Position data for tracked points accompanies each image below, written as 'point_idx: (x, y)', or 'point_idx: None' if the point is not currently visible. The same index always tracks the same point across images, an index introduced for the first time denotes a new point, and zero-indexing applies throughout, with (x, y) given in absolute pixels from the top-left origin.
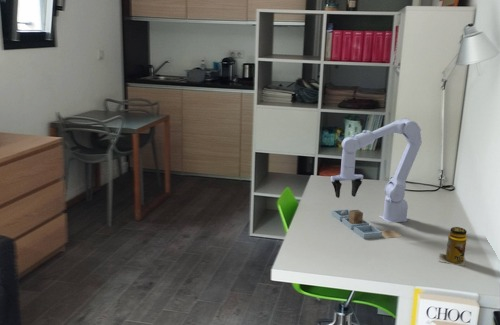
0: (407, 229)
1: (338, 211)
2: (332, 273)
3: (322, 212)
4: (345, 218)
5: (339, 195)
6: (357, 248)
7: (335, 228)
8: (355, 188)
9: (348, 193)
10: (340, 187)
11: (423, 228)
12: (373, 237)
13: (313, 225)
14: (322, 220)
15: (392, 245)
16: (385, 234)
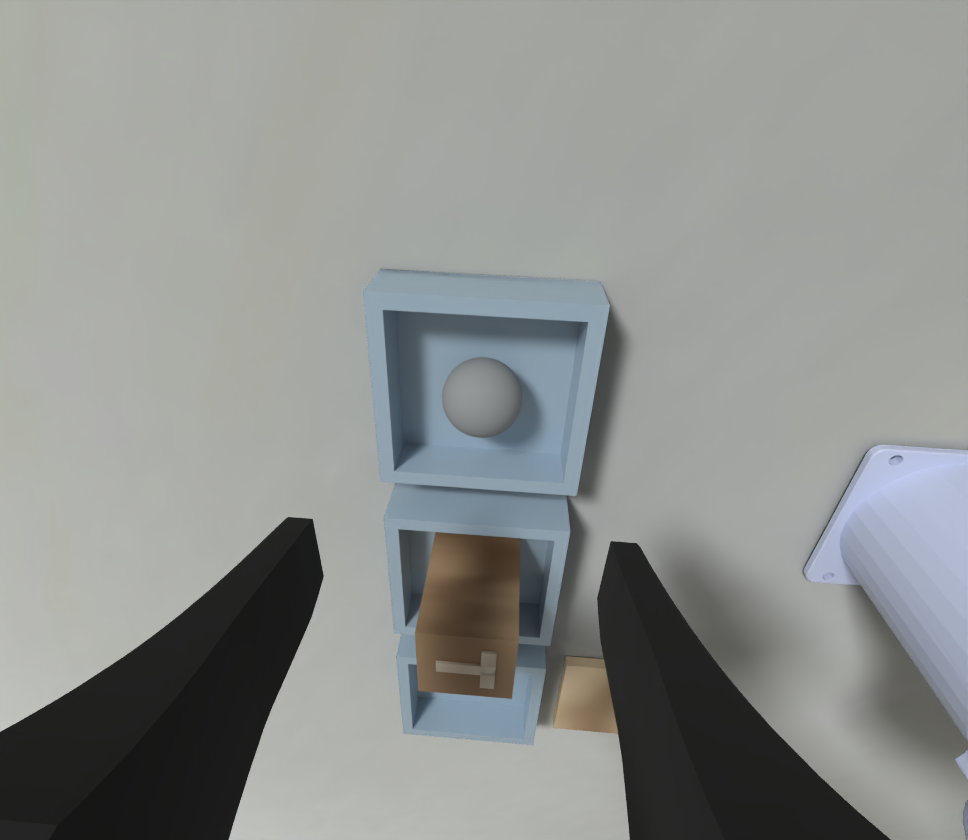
0: (817, 670)
1: (456, 310)
2: None
3: (312, 103)
4: (411, 528)
5: (304, 621)
6: (328, 737)
7: None
8: (627, 773)
9: None
10: (228, 816)
11: None
12: (476, 708)
13: (128, 444)
14: (239, 363)
15: (527, 758)
16: (581, 701)
